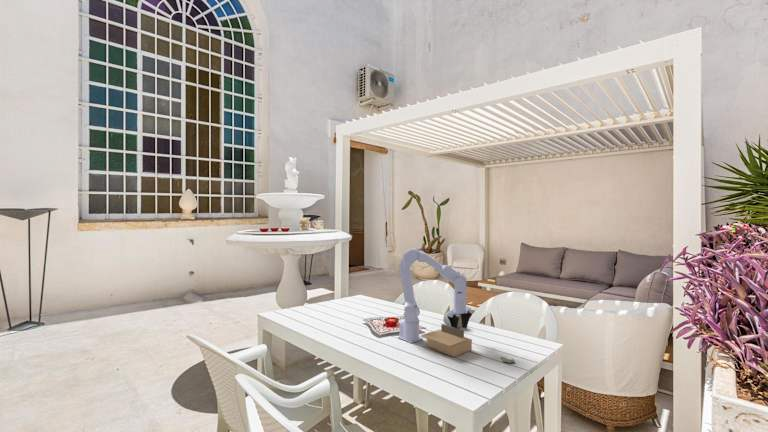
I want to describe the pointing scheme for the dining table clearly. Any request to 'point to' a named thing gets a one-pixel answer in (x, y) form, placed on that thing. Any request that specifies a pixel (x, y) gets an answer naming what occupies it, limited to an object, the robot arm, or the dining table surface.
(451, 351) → the carton
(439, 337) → the carton lid
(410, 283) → the robot arm
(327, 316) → the dining table surface
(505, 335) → the dining table surface
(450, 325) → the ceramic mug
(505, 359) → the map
